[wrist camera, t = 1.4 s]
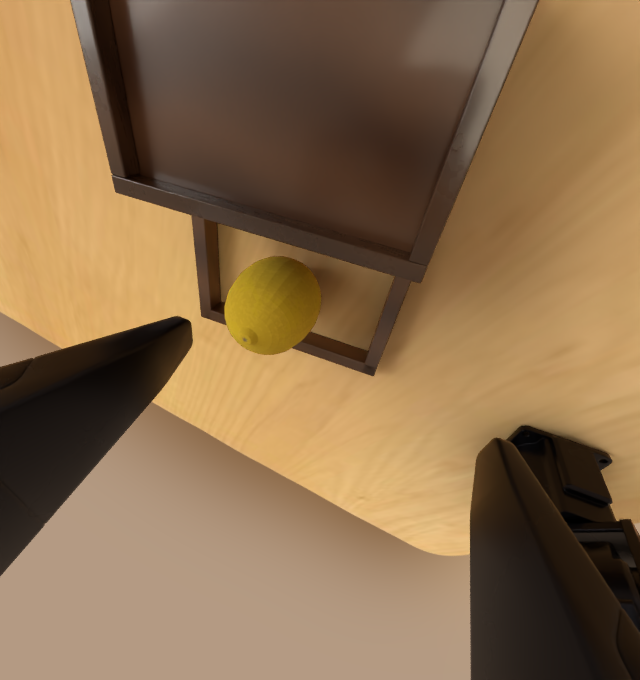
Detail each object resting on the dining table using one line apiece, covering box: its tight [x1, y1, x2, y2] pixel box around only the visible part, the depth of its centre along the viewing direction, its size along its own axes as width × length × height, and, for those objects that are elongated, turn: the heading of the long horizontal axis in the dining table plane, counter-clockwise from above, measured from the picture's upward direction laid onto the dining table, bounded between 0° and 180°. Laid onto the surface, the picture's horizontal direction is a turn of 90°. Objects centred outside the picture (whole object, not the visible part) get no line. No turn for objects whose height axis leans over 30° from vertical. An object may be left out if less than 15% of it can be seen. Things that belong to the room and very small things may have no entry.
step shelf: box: [70, 0, 539, 376], centre depth 17 cm, size 21×15×7 cm
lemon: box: [225, 256, 321, 355], centre depth 20 cm, size 6×6×8 cm
